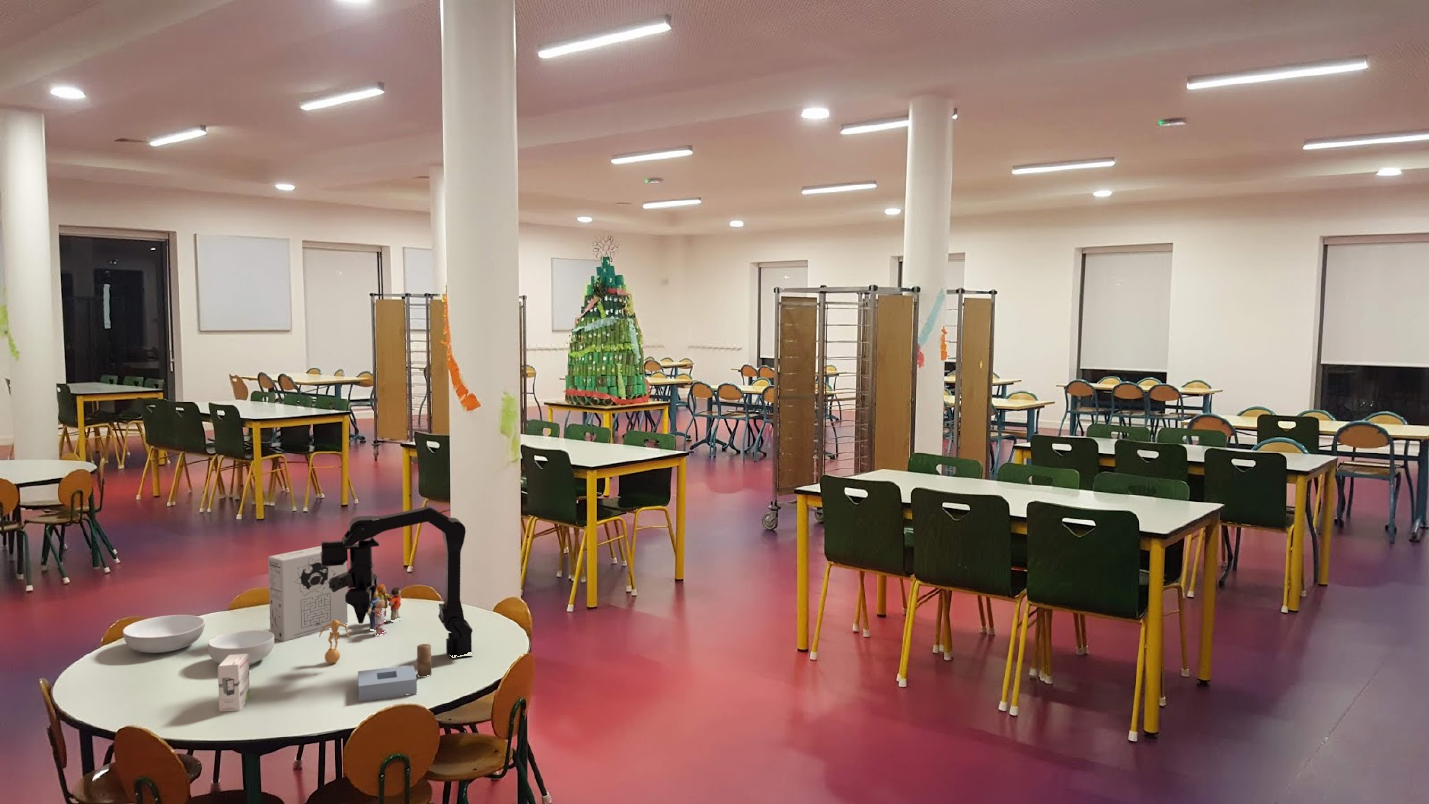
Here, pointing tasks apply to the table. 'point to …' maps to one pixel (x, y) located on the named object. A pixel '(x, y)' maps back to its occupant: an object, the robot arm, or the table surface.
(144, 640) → the serving bowl
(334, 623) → the figurine
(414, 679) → the socket block
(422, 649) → the peg
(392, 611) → the doll family
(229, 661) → the ink box
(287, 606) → the cereal box
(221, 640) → the cereal bowl
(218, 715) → the table surface
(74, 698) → the table surface
